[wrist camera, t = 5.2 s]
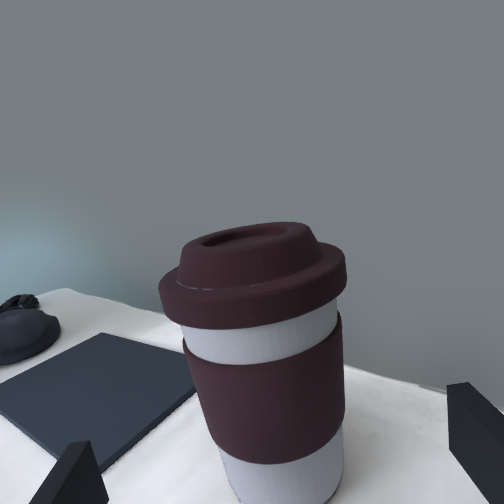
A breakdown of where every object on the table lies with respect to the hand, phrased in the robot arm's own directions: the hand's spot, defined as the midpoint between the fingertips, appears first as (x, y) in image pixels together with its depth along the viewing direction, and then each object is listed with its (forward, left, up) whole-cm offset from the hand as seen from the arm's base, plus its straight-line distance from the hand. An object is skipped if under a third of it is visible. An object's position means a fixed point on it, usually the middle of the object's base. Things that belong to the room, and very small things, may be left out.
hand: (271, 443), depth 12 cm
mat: (-26, +6, -8) cm, 28 cm away
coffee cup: (-4, +6, -9) cm, 11 cm away
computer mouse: (-56, +10, -9) cm, 58 cm away
